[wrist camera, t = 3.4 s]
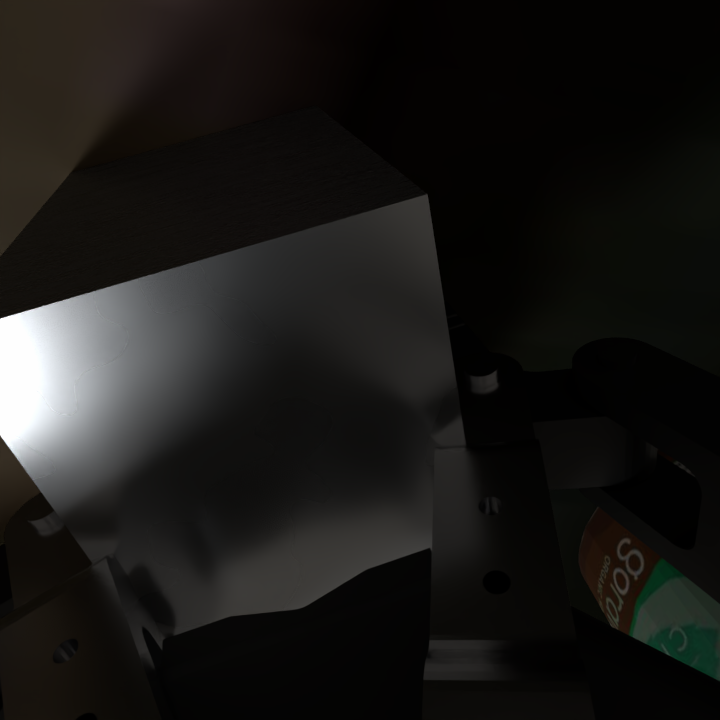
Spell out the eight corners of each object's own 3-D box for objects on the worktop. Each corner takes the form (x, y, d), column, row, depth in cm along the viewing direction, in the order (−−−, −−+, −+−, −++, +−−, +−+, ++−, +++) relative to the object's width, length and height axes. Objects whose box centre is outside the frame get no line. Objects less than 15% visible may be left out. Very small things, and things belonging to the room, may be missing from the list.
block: (70, 172, 11) (-69, 338, 6) (316, 105, 12) (427, 193, 6) (224, 493, 16) (237, 764, 10) (395, 438, 17) (500, 668, 11)
